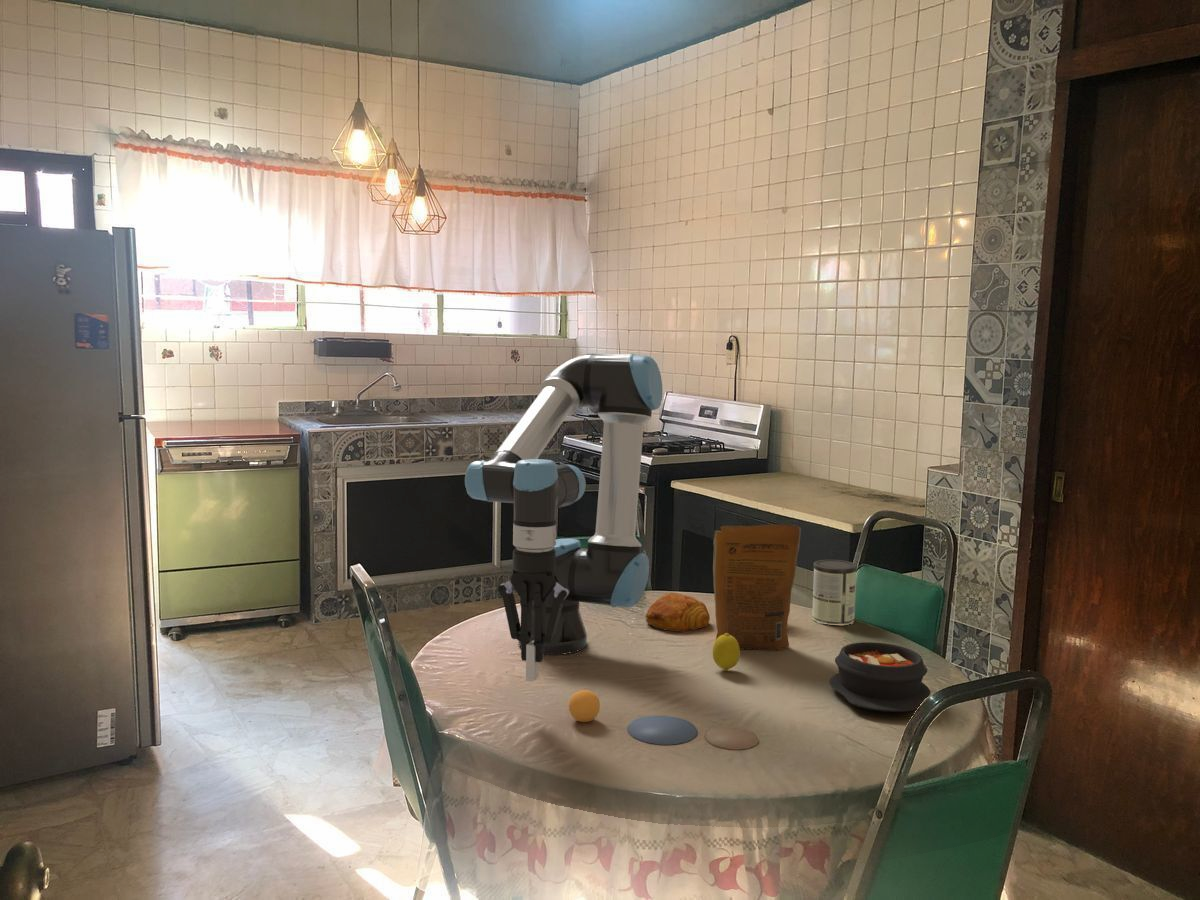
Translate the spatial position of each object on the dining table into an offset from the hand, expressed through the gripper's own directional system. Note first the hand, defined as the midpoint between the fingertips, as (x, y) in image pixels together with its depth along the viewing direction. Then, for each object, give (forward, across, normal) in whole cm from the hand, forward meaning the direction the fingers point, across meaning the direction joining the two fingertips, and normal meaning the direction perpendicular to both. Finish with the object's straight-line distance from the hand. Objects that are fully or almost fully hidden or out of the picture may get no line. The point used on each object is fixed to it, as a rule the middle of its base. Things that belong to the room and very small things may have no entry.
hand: (532, 678), depth 165 cm
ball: (+4, +10, 0) cm, 10 cm away
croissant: (+6, +15, +64) cm, 66 cm away
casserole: (+7, +61, +29) cm, 67 cm away
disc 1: (+7, +24, +1) cm, 25 cm away
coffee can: (+6, +52, +78) cm, 93 cm away
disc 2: (+7, +36, +1) cm, 36 cm away
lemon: (+6, +31, +34) cm, 46 cm away
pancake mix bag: (+6, +35, +51) cm, 62 cm away
